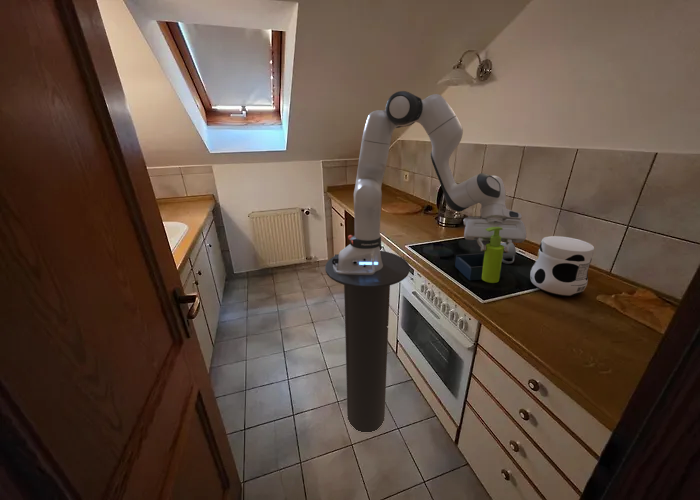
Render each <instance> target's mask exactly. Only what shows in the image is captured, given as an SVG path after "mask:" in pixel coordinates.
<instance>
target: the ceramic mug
mask: <svg viewBox="0 0 700 500" xmlns="http://www.w3.org/2000/svg"><path fill="white" fill-rule="evenodd" d="M500 245H503V246H504V247H506V246H507V245H508V244H506V242H501V244H500ZM516 254H517V249H516V246H515V244H514V242H512V243H511V244H510V246H509V252H508V253H503V257H502V263H503V264H505V265H511V264H513V263H514V262H515V257H516ZM508 260H511V261H508Z"/></svg>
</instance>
